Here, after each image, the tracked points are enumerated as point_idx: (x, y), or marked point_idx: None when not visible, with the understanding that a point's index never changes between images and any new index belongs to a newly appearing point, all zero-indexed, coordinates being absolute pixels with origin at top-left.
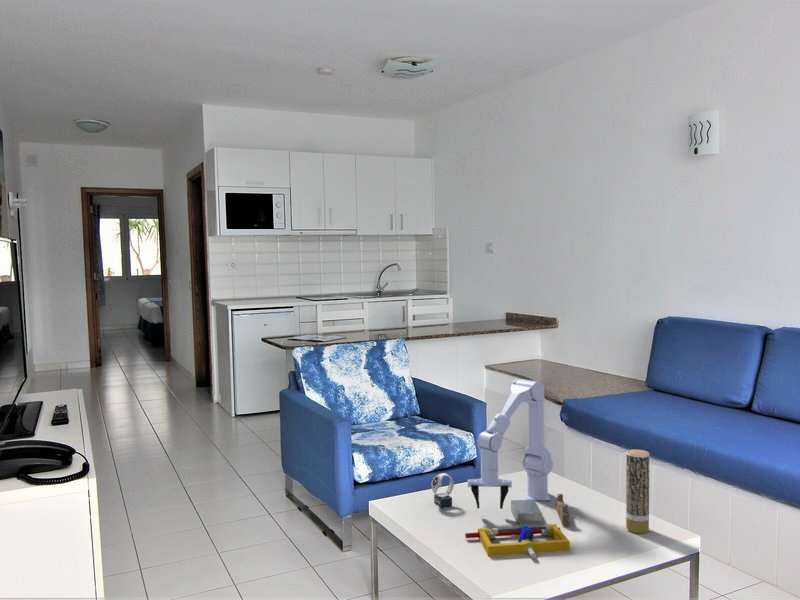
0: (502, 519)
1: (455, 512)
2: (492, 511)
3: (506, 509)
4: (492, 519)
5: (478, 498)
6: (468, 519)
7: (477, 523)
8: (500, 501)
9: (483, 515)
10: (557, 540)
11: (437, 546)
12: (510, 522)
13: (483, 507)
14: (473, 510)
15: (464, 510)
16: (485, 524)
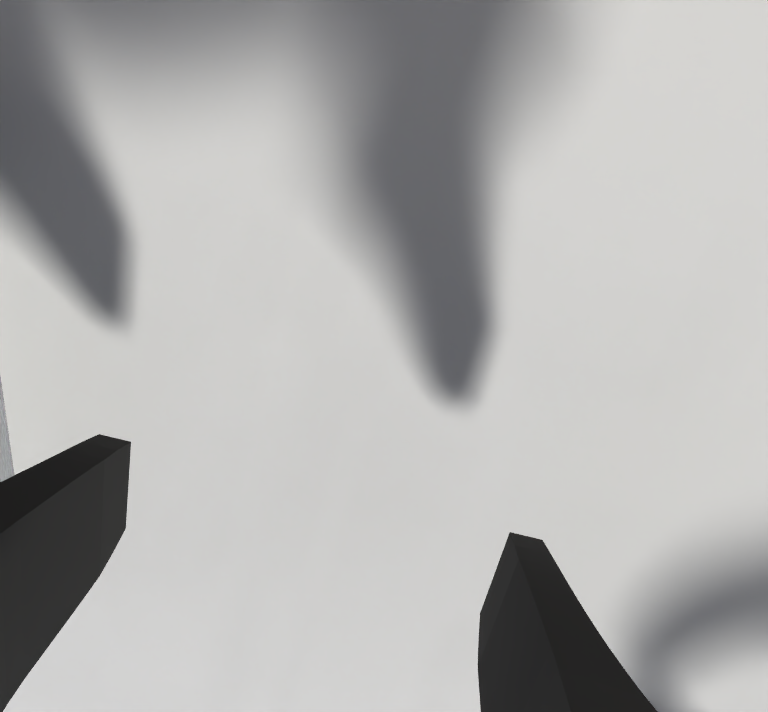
0: (172, 315)
1: (764, 659)
2: (262, 584)
3: None
4: (322, 345)
5: (569, 680)
6: (688, 417)
7: (608, 242)
8: (62, 567)
9: (416, 499)
10: None
11: None
12: (64, 179)
13: (348, 702)
14: None
15: None
16: (488, 174)
